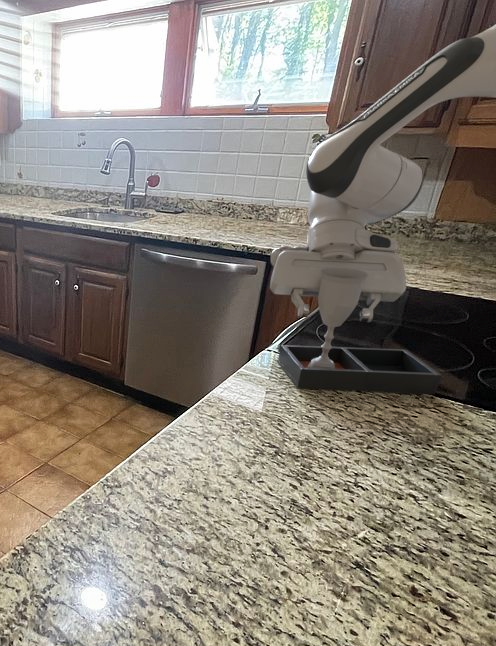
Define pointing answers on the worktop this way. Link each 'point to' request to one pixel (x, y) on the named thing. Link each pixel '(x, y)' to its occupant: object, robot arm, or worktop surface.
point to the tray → (359, 370)
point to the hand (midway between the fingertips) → (334, 317)
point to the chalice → (336, 305)
